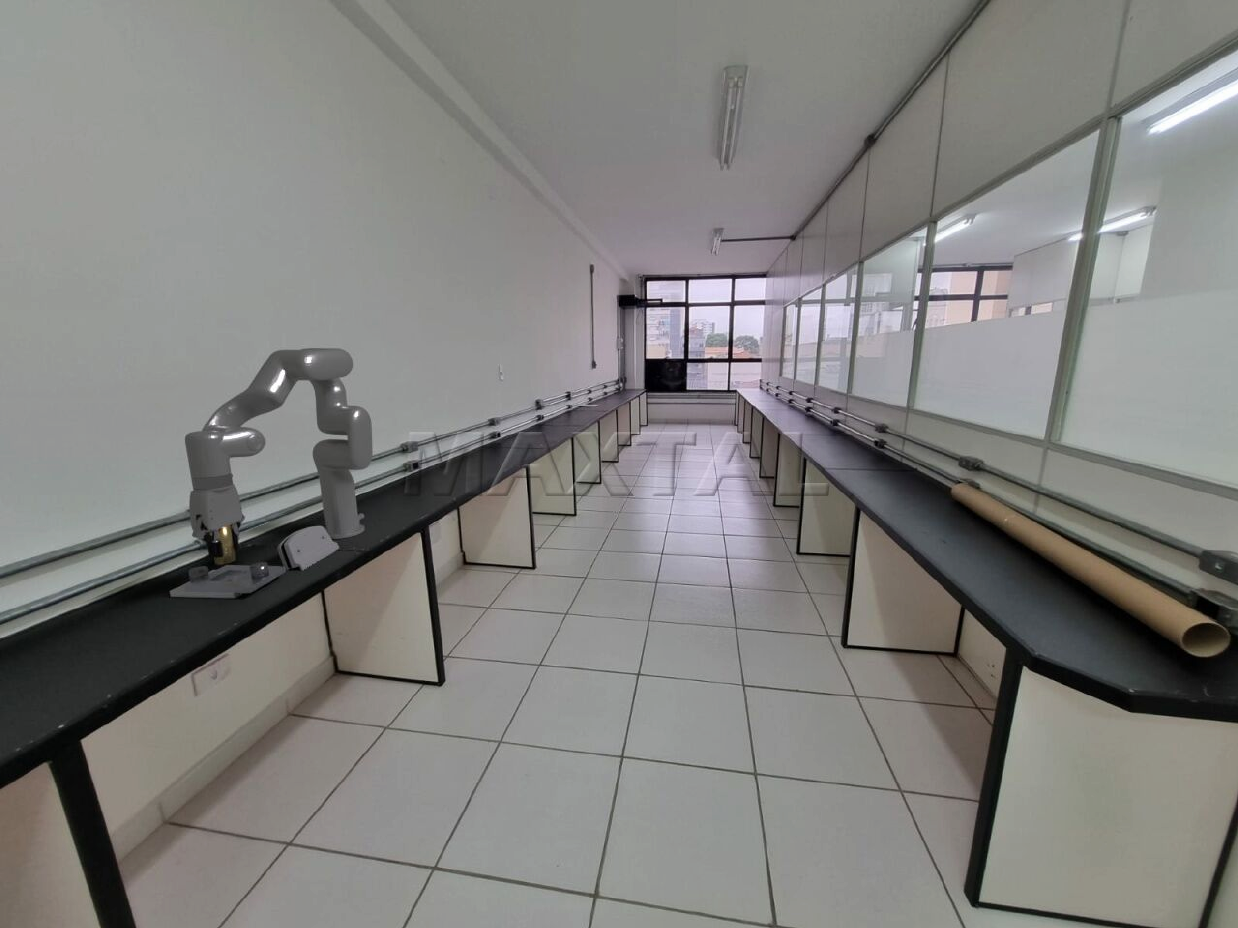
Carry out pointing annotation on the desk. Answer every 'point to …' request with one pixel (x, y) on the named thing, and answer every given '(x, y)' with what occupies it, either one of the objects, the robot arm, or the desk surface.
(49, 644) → the desk surface
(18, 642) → the desk surface
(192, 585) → the knobbed base plate
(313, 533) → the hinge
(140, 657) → the desk surface
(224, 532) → the pin
